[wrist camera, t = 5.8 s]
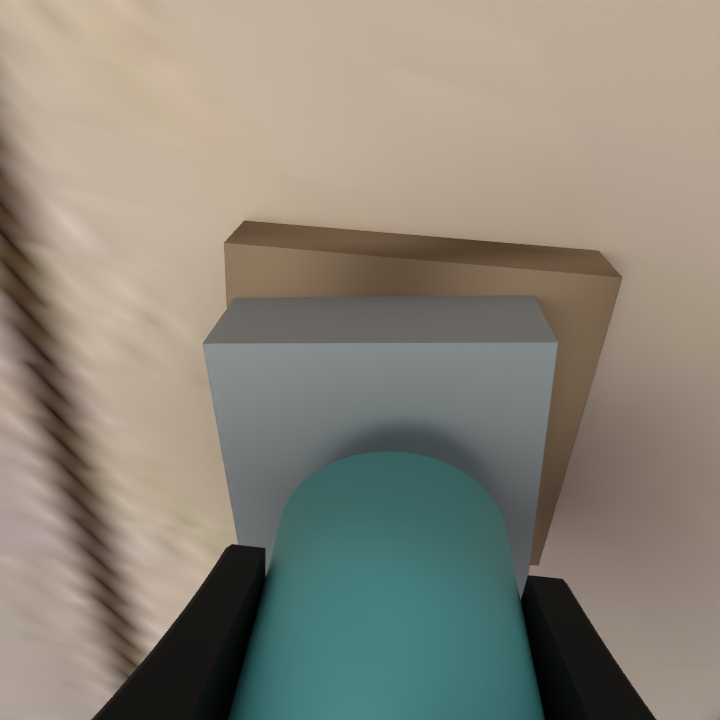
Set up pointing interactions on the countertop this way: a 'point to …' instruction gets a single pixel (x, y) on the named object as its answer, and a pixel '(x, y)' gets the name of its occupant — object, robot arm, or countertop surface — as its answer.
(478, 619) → the cylinder
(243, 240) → the tower base
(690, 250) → the countertop surface
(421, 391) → the tower top
